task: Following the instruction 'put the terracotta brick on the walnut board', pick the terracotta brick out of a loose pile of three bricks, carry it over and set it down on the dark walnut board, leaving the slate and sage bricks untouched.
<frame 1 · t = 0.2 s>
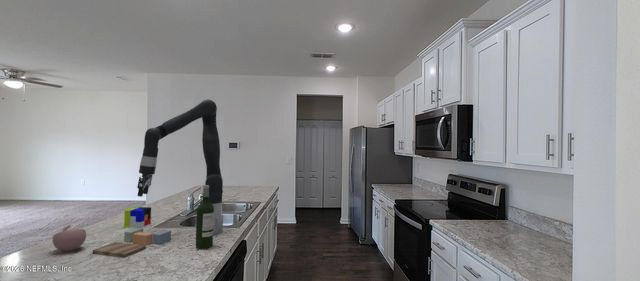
hand: (142, 195, 166), 22 cm above the countertop, tool pointing down, fingers open, 8 cm apart
wine bottle: (204, 247, 153), on the countertop
slate brick: (161, 242, 159), on the countertop
walnut board: (119, 251, 144), on the countertop
mortar and pestle: (69, 251, 143), on the countertop
puzzle toy: (137, 225, 188), on the countertop
terracotta brick: (142, 243, 155), on the countertop
sage brick: (133, 239, 161), on the countertop
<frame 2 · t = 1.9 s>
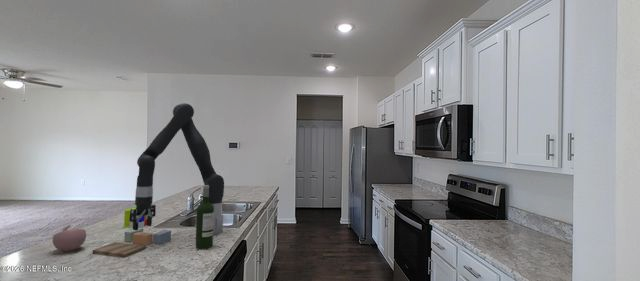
hand: (142, 227, 155), 8 cm above the countertop, tool pointing down, fingers open, 8 cm apart
nothing on the countertop moved.
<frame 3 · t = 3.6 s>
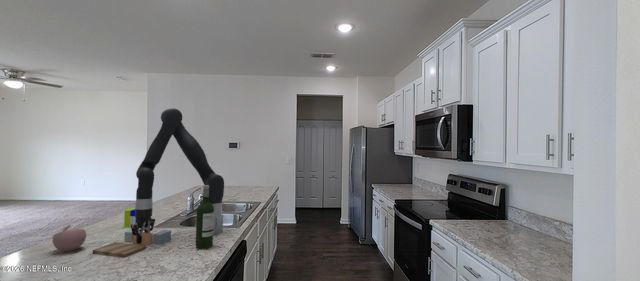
hand: (142, 241, 155), 1 cm above the countertop, tool pointing down, fingers closed on terracotta brick, 4 cm apart
terracotta brick: (142, 243, 155), on the countertop, touching gripper
everything else where it was.
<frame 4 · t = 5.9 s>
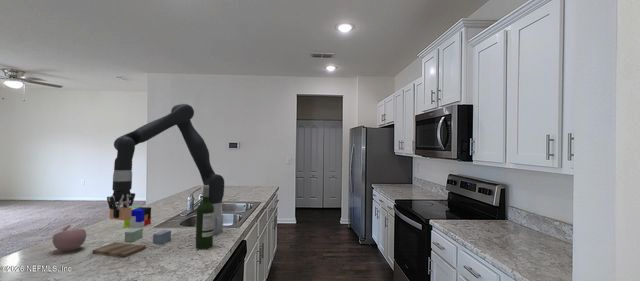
hand: (120, 216, 144), 16 cm above the countertop, tool pointing down, fingers closed on terracotta brick, 4 cm apart
terracotta brick: (120, 218, 144), point 15 cm above the countertop, touching gripper
everything else where it was.
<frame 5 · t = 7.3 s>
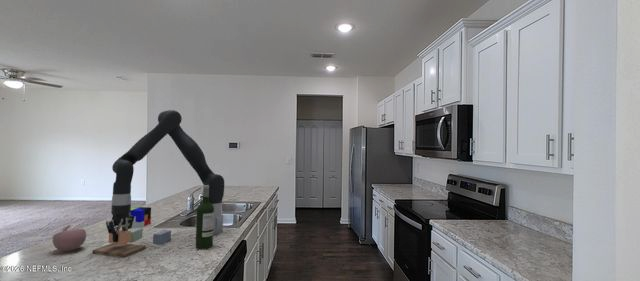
hand: (119, 240, 144), 5 cm above the countertop, tool pointing down, fingers closed on terracotta brick, 4 cm apart
terracotta brick: (119, 242, 144), point 4 cm above the countertop, touching gripper
everything else where it was.
when the fingers open (4 cm above the countertop, at t = 8.2 s): terracotta brick drops 1 cm, resting on walnut board.
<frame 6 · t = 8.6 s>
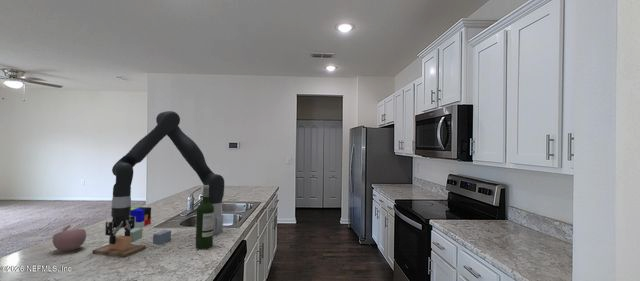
hand: (120, 241, 144), 4 cm above the countertop, tool pointing down, fingers open, 7 cm apart
terracotta brick: (119, 247, 144), point 1 cm above the countertop, touching walnut board
everything else where it was.
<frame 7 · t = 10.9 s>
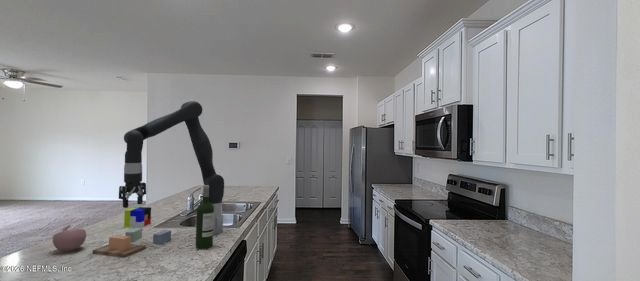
hand: (133, 205, 150), 20 cm above the countertop, tool pointing down, fingers open, 8 cm apart
nothing on the countertop moved.
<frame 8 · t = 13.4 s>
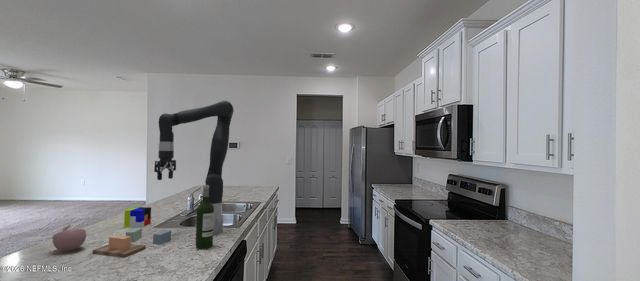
hand: (165, 179, 173), 30 cm above the countertop, tool pointing down, fingers open, 8 cm apart
nothing on the countertop moved.
at the end: terracotta brick inside the target area on the walnut board (0.1 cm from its centre), point 1.5 cm above the walnut board's base; slate brick moved 0.2 cm from its start; sage brick moved 0.2 cm from its start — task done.
